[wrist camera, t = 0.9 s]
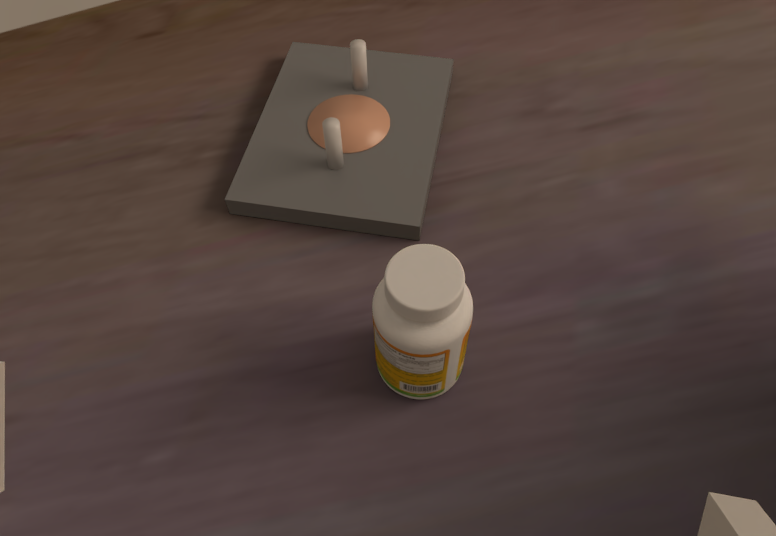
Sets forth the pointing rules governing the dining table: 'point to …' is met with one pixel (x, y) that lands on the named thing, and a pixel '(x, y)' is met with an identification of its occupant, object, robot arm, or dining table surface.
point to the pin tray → (346, 141)
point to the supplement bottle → (422, 321)
